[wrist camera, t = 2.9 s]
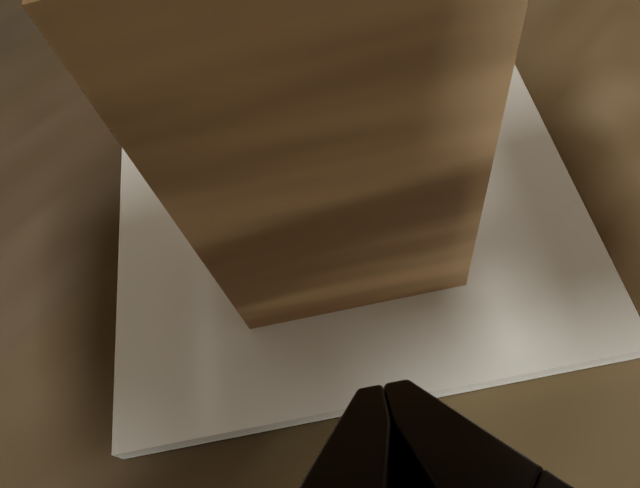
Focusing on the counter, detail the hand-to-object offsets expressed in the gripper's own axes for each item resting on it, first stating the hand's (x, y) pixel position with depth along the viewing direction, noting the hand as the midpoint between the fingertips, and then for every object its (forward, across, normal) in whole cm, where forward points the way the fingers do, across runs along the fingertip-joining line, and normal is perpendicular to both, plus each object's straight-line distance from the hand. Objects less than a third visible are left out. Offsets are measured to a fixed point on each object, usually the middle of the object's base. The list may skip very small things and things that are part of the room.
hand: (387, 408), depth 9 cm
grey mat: (+15, 0, -3) cm, 15 cm away
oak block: (+10, 0, 0) cm, 10 cm away
